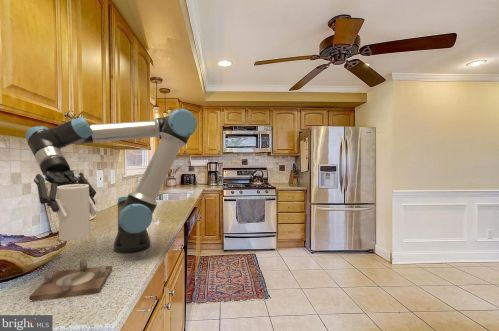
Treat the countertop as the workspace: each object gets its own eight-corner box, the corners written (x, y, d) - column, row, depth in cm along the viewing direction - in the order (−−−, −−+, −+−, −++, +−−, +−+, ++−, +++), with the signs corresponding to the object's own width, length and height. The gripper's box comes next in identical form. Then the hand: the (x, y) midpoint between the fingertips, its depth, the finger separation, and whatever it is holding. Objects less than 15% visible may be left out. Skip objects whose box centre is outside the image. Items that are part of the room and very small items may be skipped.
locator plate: (111, 269, 92) (111, 257, 92) (99, 292, 76) (99, 277, 76) (55, 275, 88) (55, 262, 88) (29, 301, 71) (29, 285, 71)
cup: (86, 230, 88) (85, 183, 87) (93, 236, 82) (92, 185, 81) (56, 236, 82) (54, 185, 81) (61, 242, 76) (59, 188, 75)
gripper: (81, 170, 98) (107, 217, 91) (9, 172, 80) (35, 231, 72) (89, 156, 96) (117, 203, 88) (17, 154, 77) (44, 214, 70)
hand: (80, 216), depth 80 cm, fingers closed on cup, 8 cm apart
